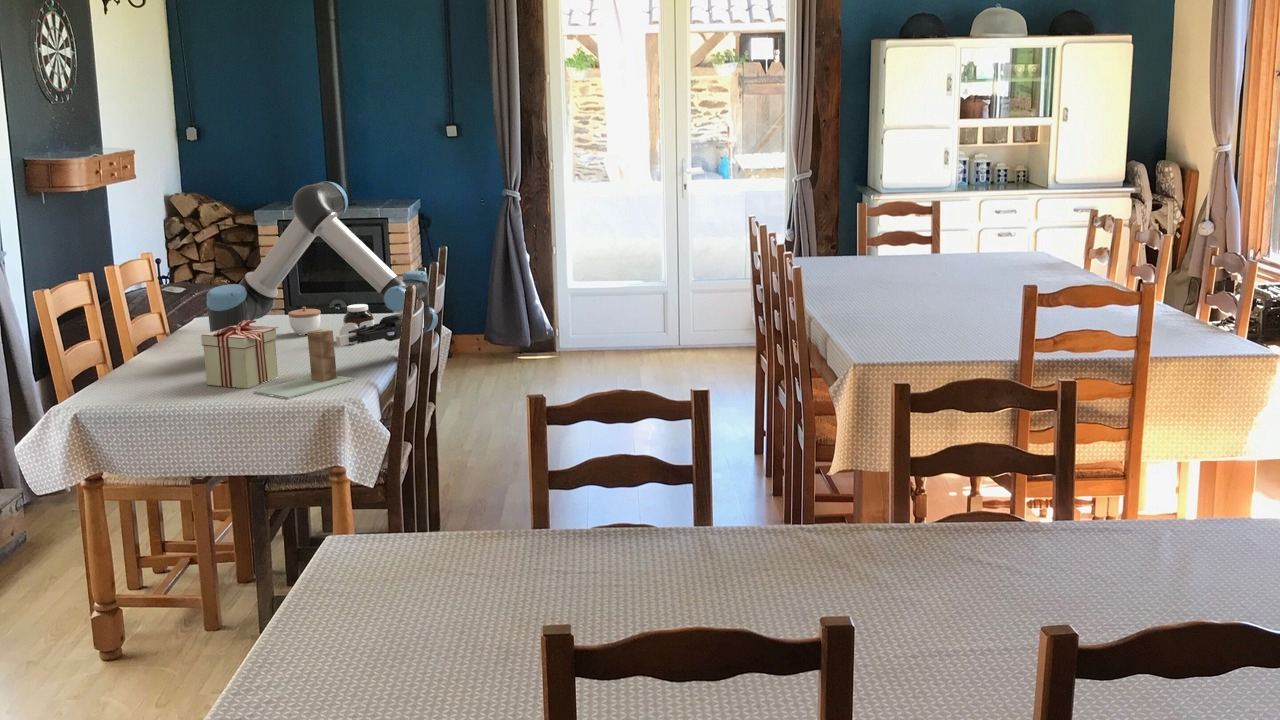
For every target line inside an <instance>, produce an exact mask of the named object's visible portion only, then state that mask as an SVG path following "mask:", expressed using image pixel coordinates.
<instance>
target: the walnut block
mask: <svg viewBox="0 0 1280 720" xmlns="http://www.w3.org/2000/svg"><path fill="white" fill-rule="evenodd" d="M306 336H307V341H308V342H307V344H308V345H307V346H308V354H309V367H310V376H311V378H312V380H315V381H321V382H325V381H329V380H332V379H336V378H337V376H338V375H337V367H336V366H337V365H336V363H337V362H336V353H335V342H334V339H335V338H334V331H333V330H330V329H322V328H318V330H315V331H311V332H307V335H306Z"/></svg>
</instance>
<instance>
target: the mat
mask: <svg viewBox="0 0 1280 720" xmlns="http://www.w3.org/2000/svg"><path fill="white" fill-rule="evenodd" d="M351 380H353V381H354V380H355V379H354V378H353V377H349V376H341V375H337V378H336V379H332V380H329V381H325V382H321V381H315V380H312V378H311V375H307V376H305V377H301V378H298V379H294V380H293V379H292V380H290V381H287V382H283V383H279V384H275V385H271V386H269V387H265V388H261V389H257V390H254V394H256V393H259V394H258V395H262V394H266V395H265V396H268V395H273V396H278V397H277V398H279V397H283V398H282V399H285V398H291V399H293V398H292V397H294V398H296V397H295V396H298V397H300V396H299V395H301V396H304V395H303V394H305V395H307V393H308V394H311V392H312V393H315V392H318V391H321V389H322V390H324V388H325V389H328V388H327V387H329V388H331V387H330V386H332V387H335V386H334V385H336V386H338V385H337V384H339V385H342V384H341V383H343V384H345V383H344V382H346V383H348V382H347V381H349V382H352V381H351ZM317 390H318V391H317ZM314 391H315V392H314ZM273 396H272V397H273Z"/></svg>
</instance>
